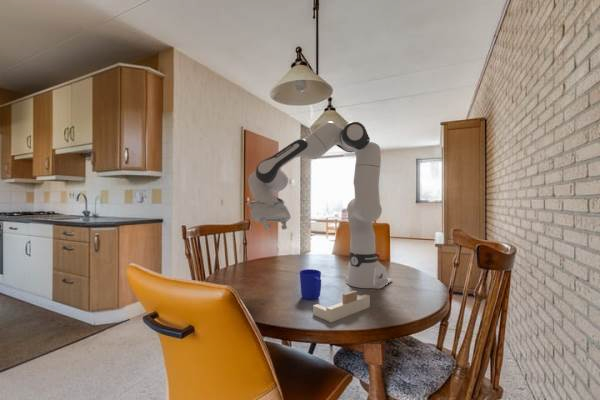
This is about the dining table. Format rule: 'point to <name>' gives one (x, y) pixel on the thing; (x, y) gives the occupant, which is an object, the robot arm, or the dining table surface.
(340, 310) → the beige blocky open frame
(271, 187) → the robot arm
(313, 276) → the mug
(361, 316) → the dining table surface
